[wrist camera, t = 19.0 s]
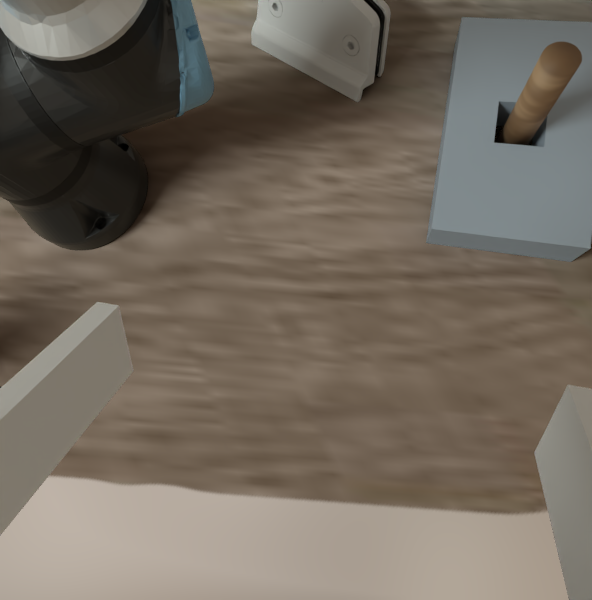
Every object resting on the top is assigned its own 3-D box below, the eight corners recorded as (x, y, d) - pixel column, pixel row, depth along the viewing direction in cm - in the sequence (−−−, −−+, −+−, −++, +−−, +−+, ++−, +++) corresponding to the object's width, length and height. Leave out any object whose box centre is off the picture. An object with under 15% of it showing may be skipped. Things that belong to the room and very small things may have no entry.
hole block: (571, 261, 45) (590, 248, 41) (426, 242, 47) (431, 228, 43) (588, 52, 49) (607, 22, 45) (454, 45, 52) (462, 17, 48)
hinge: (249, 42, 56) (246, -51, 47) (273, 26, 58) (274, -66, 49) (360, 103, 52) (380, 14, 43) (382, 84, 54) (405, -6, 45)
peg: (493, 157, 48) (539, 73, 36) (496, 132, 49) (542, 40, 36) (523, 160, 48) (580, 76, 35) (526, 135, 48) (583, 42, 36)
